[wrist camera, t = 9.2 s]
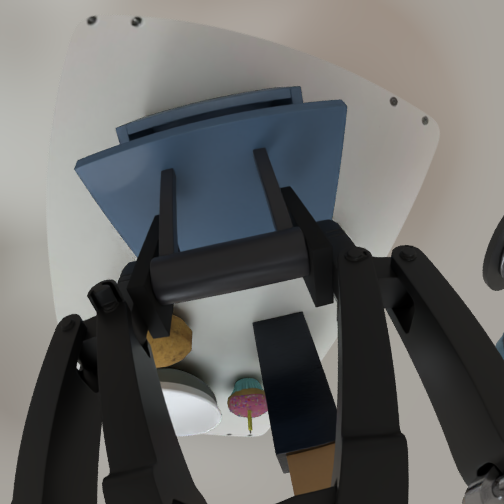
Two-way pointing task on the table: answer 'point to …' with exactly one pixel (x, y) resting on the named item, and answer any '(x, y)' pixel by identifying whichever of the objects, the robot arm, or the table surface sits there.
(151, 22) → the table surface
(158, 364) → the potato
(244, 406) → the cupcake
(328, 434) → the stand
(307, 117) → the lid
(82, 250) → the table surface
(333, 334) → the table surface
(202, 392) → the bowl
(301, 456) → the package
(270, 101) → the chest
